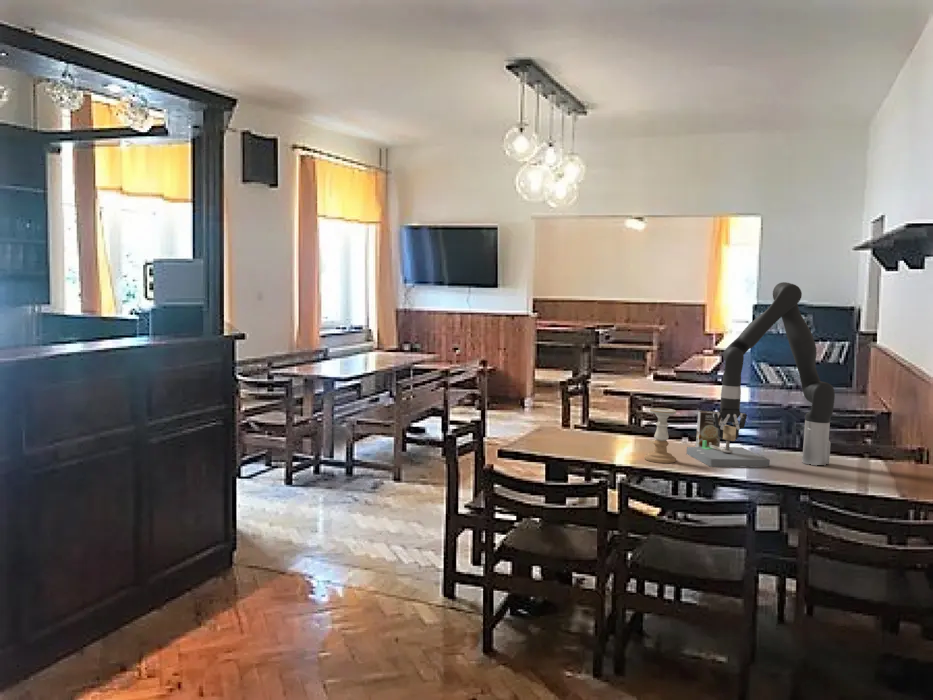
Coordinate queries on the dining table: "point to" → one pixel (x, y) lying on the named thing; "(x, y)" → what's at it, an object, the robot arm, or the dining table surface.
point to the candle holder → (661, 437)
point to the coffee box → (707, 429)
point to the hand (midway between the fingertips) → (728, 438)
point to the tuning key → (726, 438)
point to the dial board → (726, 456)
